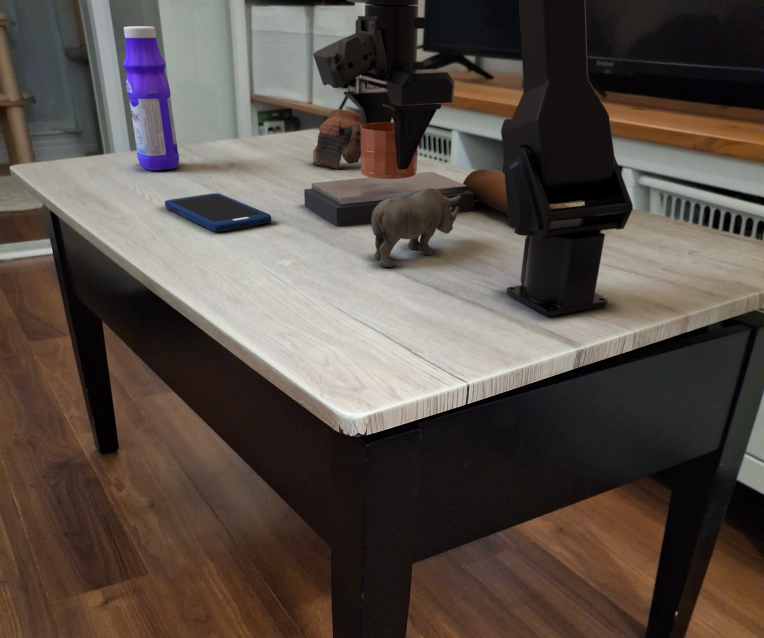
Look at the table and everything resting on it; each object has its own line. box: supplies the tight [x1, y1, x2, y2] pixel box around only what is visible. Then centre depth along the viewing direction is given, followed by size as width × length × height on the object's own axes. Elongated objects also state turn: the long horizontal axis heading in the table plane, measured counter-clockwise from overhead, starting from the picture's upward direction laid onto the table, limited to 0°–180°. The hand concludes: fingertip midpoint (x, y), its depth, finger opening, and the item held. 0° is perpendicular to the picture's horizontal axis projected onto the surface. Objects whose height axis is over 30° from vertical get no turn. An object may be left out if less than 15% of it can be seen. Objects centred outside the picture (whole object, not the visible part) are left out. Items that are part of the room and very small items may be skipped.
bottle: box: [122, 25, 180, 171], centre depth 106 cm, size 7×6×17 cm
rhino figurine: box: [370, 188, 461, 268], centre depth 77 cm, size 4×14×6 cm, turn 139°
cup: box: [360, 121, 419, 179], centre depth 89 cm, size 7×7×5 cm
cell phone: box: [164, 192, 272, 233], centre depth 89 cm, size 7×14×1 cm, turn 37°
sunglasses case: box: [462, 168, 571, 215], centre depth 89 cm, size 18×7×7 cm
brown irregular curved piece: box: [312, 108, 363, 170], centre depth 113 cm, size 12×10×8 cm
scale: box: [303, 171, 475, 227], centre depth 92 cm, size 10×18×3 cm, turn 116°
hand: (389, 163), depth 90 cm, fingers closed on cup, 6 cm apart
